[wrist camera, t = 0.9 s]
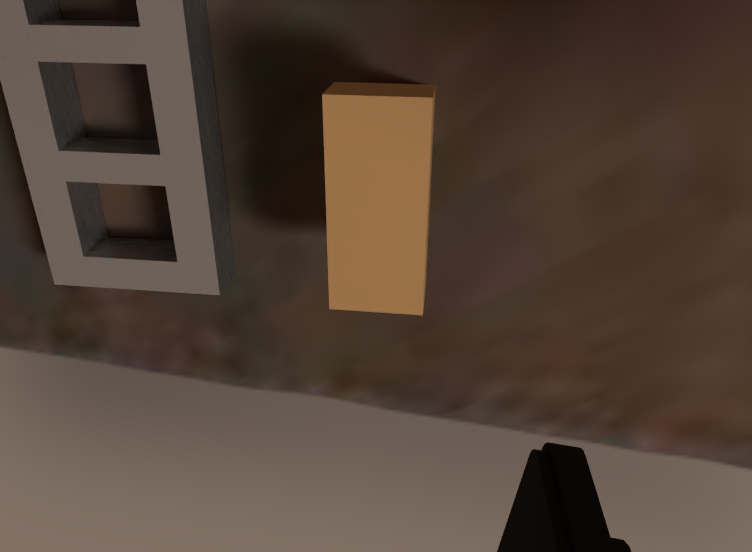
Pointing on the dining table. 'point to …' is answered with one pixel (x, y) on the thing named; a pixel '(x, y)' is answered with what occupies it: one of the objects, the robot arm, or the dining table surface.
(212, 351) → the dining table surface
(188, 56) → the grey slotted tray
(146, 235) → the dining table surface
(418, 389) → the dining table surface
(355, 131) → the tan rectangular block
